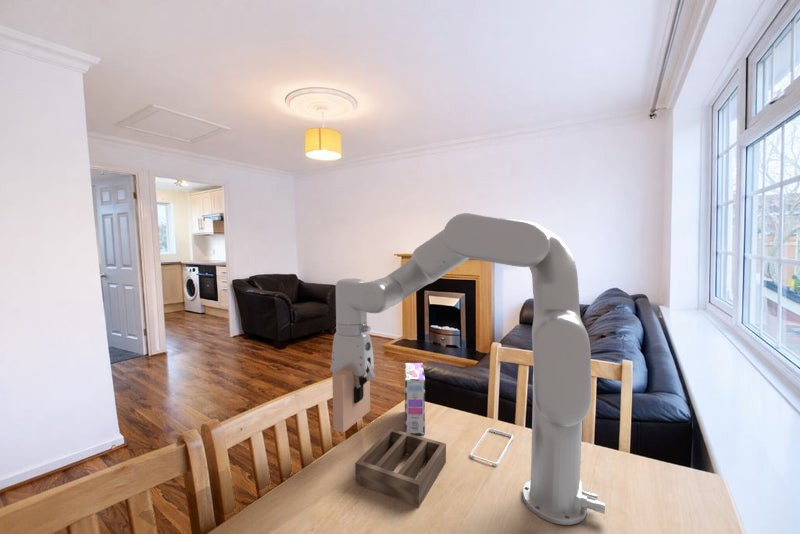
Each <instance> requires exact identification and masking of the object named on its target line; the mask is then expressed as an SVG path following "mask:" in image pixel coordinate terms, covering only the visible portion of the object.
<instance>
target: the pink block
mask: <svg viewBox="0 0 800 534" xmlns="http://www.w3.org/2000/svg"><path fill="white" fill-rule="evenodd" d="M365 376H367V373H366V374H365ZM355 387H356V385H355V375H352V371H351V370H346V369H340V370H339V371H337V372H335V373H333V372H332V426H333V427H332V429H333V431H337V432H339V433H342V434H343V433H345V432H346V431H348V430H349V429H350V428H351V427H353V425H355V424H357V422H358V421H360V420H361V419H362V418H363V417H364V416H366V415H367V414H368V413H369V412H371V380H370V381H367V382H366V383H365V384H364V385H363V390H364V396H363V399H362V400H360V401H359V402H358V403H354V388H355Z"/></svg>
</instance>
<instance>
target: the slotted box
mask: <svg viewBox="0 0 800 534" xmlns="http://www.w3.org/2000/svg"><path fill="white" fill-rule="evenodd" d="M407 455H410V456H409V458H408V459H407V460H406V461H405V463H404V464H403V465H402V467H401V468H400V469H399V471H398V472H395V469H396V468H397V467H398V466H399V465H400V463H401V462H402V460H403V459H405V457H406V456H407ZM427 461H428V462H427ZM354 464H355V465H354V472H355V473H354V474H355V485H356V484H357V485H359V486H362V487H365V488H367V489H369V490H372V491H374V492H377V493H380V494H383V495H386V496H388V497H391V498H392V499H396V500H399V501H402V502H404V503H407V504H409V505H412V506H415V507H417V508H420V506H421V505H422V503H423V502H424V500H425V498H426V496H427V495H428V493H429V492H430V491H431V489H432V487H433V485H434V483H435V481H436V480H437V479H438V476H439V475H440V473H441V471H443V468H444V467H445V465H446V464H447V443H444V442H442V441H438V440H434V439H430V438H427V437H423V436H421V435H420V436H419V435H416V434H409V433H406V432H405V431H401V430H397V429H394V428H390V427H389V428H388V429H387V430H386V431H385V432H384V433H383V434H382V435H381V436H380V437H379V438H378V439H377V440H376V442H375V441H374V443H373V445H371V446H370V447H369V448H368V449H367V451H365V452H364V453H363V454H362V456H361V457H359V458H358V459H357V461H356V462H355V463H354ZM425 464H426V465H425ZM416 477H417V478H416Z"/></svg>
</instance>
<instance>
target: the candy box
mask: <svg viewBox="0 0 800 534" xmlns="http://www.w3.org/2000/svg"><path fill="white" fill-rule="evenodd" d="M425 389H426V378H425V371H424V365H423V362H405V363H404V427H405V428H404V429H405V431H404V432H406V433H409V434H413V435H416V436H419V435H420V436H421V435H426V423H425V421H426V415H425V414H426V413H425V411H426V410H425V407H426V390H425Z"/></svg>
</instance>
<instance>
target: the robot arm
mask: <svg viewBox="0 0 800 534" xmlns="http://www.w3.org/2000/svg"><path fill="white" fill-rule="evenodd" d="M470 259H471V260H476V261H477V260H478V261H483V262H489V263H494V264H500V265H506V266H507V265H508V266H511V267H517V268H529V270H530V272H531V273H530V274H531V279H532V281H531V282H532V295H533V321H532V327H531V340H532V341H531V342H532V345H531V348H532V367H533V368H532V370H533V371H532V372H533V373H532V421H531V422H532V423H531V453H530V458H531V459H530V479H529V480H527V481H526V482H525V483H524V485H523V486H522V498H523V502H524V504H525V505H526V506H527V507H528V509H529V510H530V511H531V512H532V513H534V514H535V515H537V516H538V517H539V518H541V519H543V520H545V521H546V522H549V523H553V524H557V525H562V526H563V525H564V526H570V525H576V524H579V523H581V522H582V521H584V520H585V519H586V516H587V513H588V509H589V510H592V511H594V512H597V513H600V514H605V513H606V512H605V511H606V509H605V508H606V506H605V505H606V503H605V502H603V501H600V500H598V494H597V493H595V492H591V491H590V492H589V491H586V490H585V488H582V481H581V463H582V461H581V459H582V440H583V421H584V420H585V419H586V417H587V416H588V414H589V412H590V411H591V405H592V358H591V357H592V353H591V344H590V343H591V341H590V338H589V334H588V332H587V328H586V326H585V325H584V323H583V321H582V318H581V312H580V311H581V309H580V308H581V307H580V293H579V291H580V290H579V281H578V280H579V277H578V270H577V266H576V265H577V264H576V262H575V258H574V256H573V254H572V252H571V251H570V249H569V247H568V246H567V245H566V244H565V242H564V241H563V240H562V239H561V238H560V237H559V236H558V235H556V234H555V233H553V232H552V231H550V230H548V229H546V228H544V227H543V226H541V225H540V224H538V223H536V222H532V221H526V220H518V219H510V218H504V217H503V218H501V217H492V216H487V215H481V214H475V213H471V212H470V213H469V212H463V213H459V214H457V215H455V216H453V217H452V218H450V219H449V220H448V221H447V222H446V224H445V226H444V229H443V230H441V231H439V232H438V233H437V234H435V235H433V236H432V237H431V238H430V239H428V240H427V241H425V242H423V243H422V244H420V245H418V247H417V248H415V249H414V250H413V252H412V254H411V256H410V258H409V259H408V260H407V261H406V262H405V263H404V264H402V265H401V266H399V268H397V269H395V270H394V271H393V272H390V274H387V275H386V276H385V277H383V278H378V279H375V280H372V281H366V282H365V281H364V279H361V278H342V279H339V280H337V282H336V283H335V317H336V318H335V325H336V329H335V330H336V331H335V333H334V336H333V341H332V349H331V365H330V367H329V370H330V371H331V372H332V374H333V373H335V372H337V371H339V370H340V369H346V370H351V371H352V375H355V385H356V387H355V388H354V403H358V402H359V401H360V400H362V399H363V396H364V390H363V385H364V384H365V383H366V382H367V381H370V382H371V381H372V380H374V379H375V378H376V374H375V372H374V369H375V367H374V366H375V365H374V363H375V362H374V351H373V342H372V338H371V335H370V332H371V329H372V328H371V326H368V322H367V314H368V313H369V314H380V313H383V312H384V311H387V310H388V309H390V308H391V307H394V306H396V305H397V304H399V303H401V302H402V301H404V300H405V299H407V298H409V297H410V296H412V295H413V294H415V293H416V292H418V291H419V290H421V289H422V288H424V287H425V286H427V285H429V284H432V283H434V282H436V281H437V280H439V279H440V278H441V277H443V276H445V275H446V274H448V273H450V272H451V271H453V270H454V269H455V268H458V267H459V266H461V265H462V264H464V263H466V262H467V261H468V260H470ZM367 332H368V333H367ZM366 373H367V376H365V374H366Z"/></svg>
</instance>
